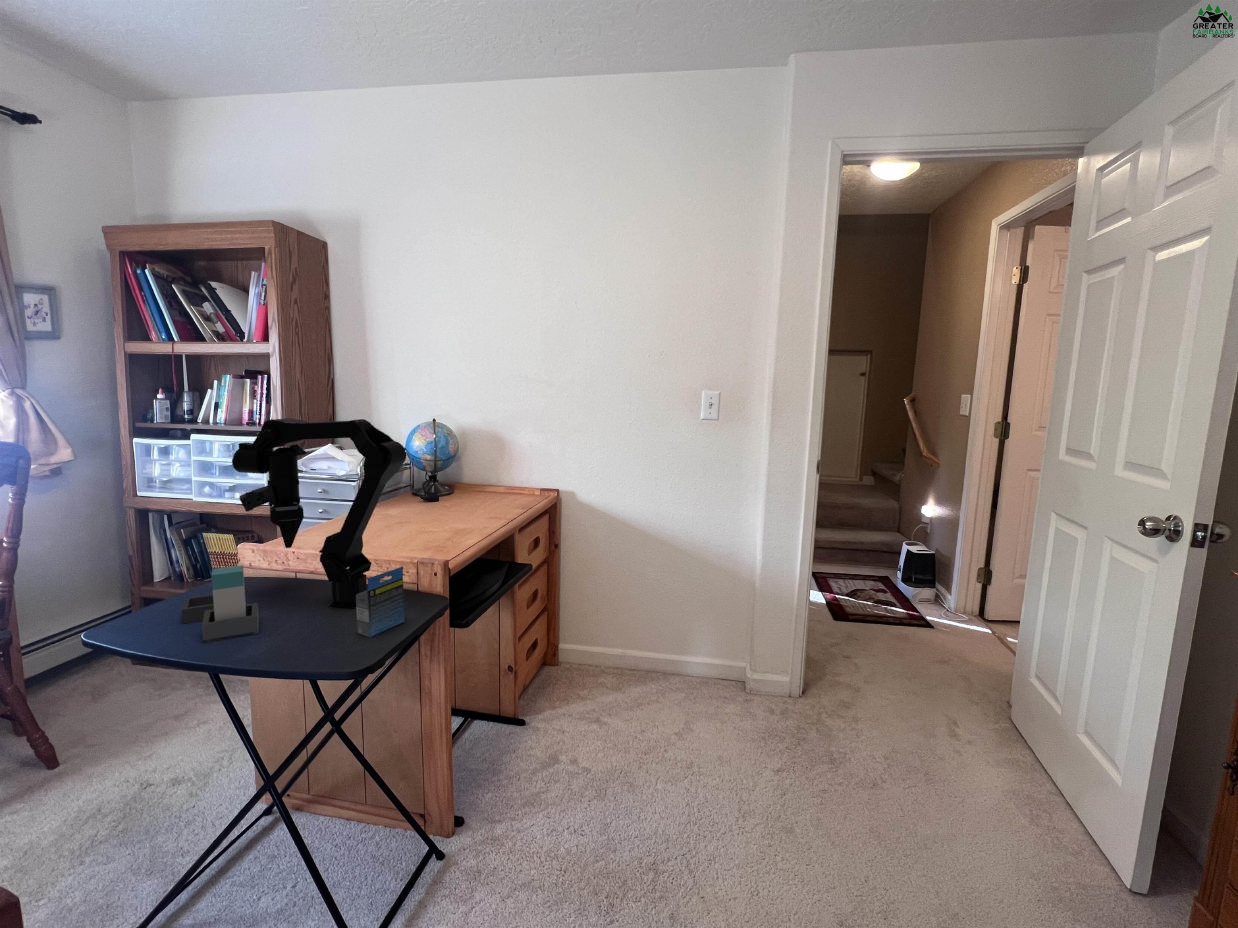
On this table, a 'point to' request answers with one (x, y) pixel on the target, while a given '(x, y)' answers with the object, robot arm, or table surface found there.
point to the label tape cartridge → (381, 604)
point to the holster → (196, 608)
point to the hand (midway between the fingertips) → (287, 542)
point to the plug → (228, 593)
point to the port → (230, 625)
